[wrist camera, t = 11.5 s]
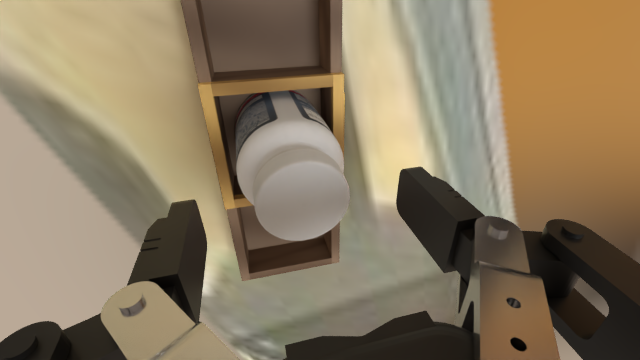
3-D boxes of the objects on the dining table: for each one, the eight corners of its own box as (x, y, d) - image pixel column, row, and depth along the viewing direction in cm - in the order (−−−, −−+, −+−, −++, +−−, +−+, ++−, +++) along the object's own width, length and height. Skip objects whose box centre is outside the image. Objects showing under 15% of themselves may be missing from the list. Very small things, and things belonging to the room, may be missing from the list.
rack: (174, -78, 15) (156, -102, 11) (329, -75, 16) (353, -95, 13) (241, 248, 25) (242, 286, 22) (331, 233, 27) (344, 266, 23)
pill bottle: (239, 164, 21) (241, 260, 13) (230, 85, 18) (228, 150, 10) (315, 159, 22) (357, 245, 14) (319, 85, 19) (372, 142, 12)
